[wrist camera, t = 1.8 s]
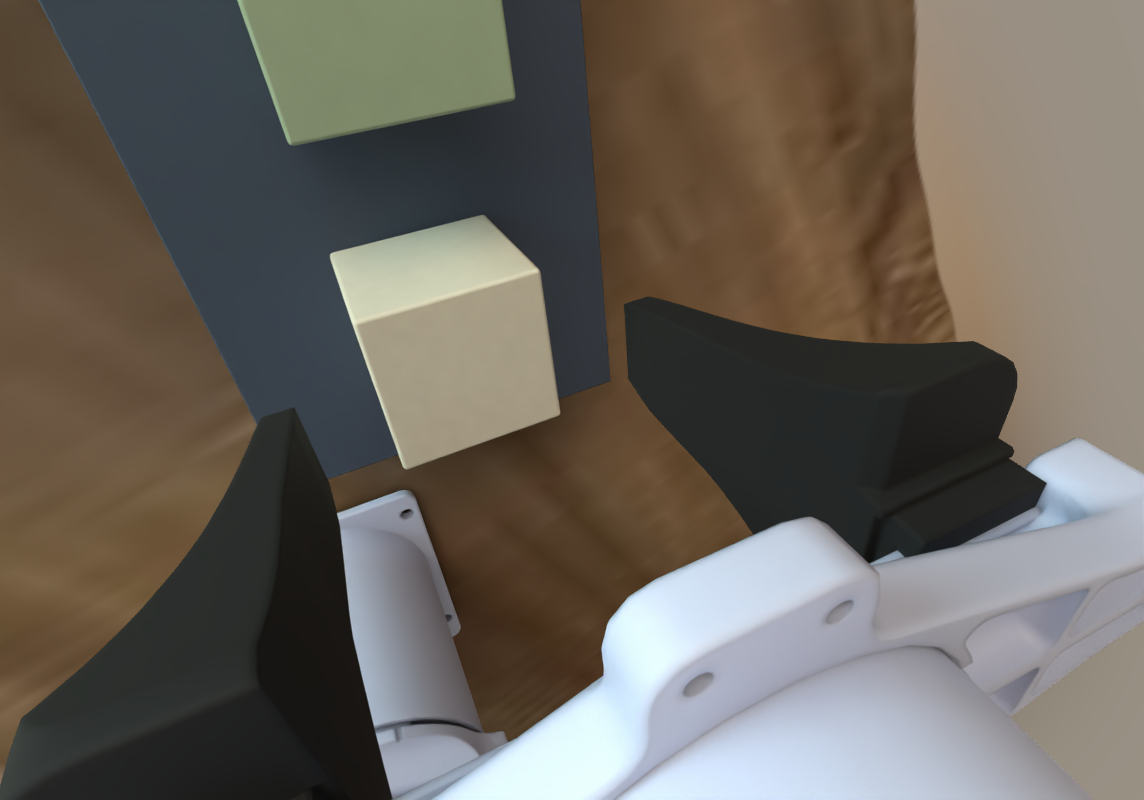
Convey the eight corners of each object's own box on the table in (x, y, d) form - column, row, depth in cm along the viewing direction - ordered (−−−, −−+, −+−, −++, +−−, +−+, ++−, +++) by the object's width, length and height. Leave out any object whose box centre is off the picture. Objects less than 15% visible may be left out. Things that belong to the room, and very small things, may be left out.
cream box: (508, 343, 19) (562, 416, 16) (375, 385, 18) (404, 471, 15) (484, 212, 16) (541, 268, 13) (328, 252, 15) (351, 322, 12)
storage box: (563, 329, 24) (610, 381, 21) (282, 418, 22) (291, 492, 18) (485, -292, 14) (552, -358, 11) (-51, -277, 12) (-148, -360, 9)
